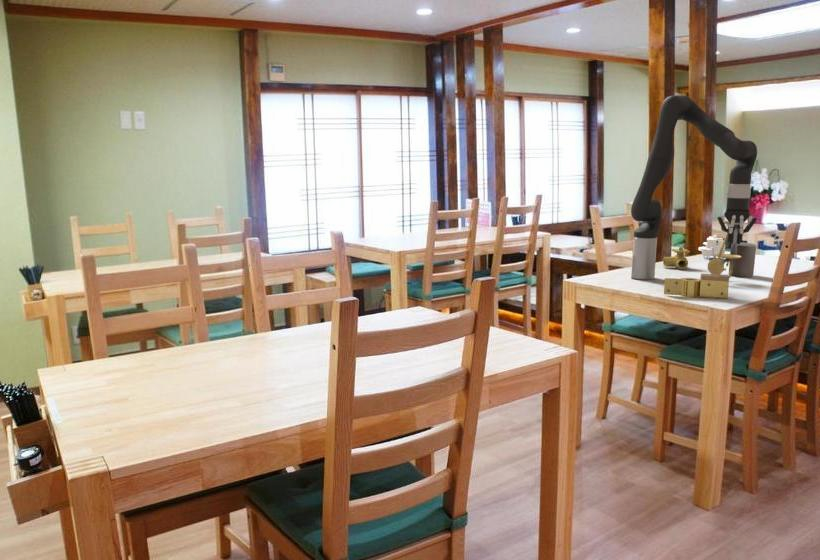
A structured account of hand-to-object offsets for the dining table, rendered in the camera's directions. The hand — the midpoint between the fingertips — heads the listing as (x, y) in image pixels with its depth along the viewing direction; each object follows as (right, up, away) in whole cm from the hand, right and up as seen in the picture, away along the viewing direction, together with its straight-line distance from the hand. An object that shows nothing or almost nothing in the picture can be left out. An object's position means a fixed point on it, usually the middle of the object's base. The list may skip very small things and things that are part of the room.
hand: (734, 243), depth 248 cm
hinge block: (-15, -19, 0) cm, 24 cm away
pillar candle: (+22, -12, +40) cm, 47 cm away
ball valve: (+2, -8, +60) cm, 60 cm away
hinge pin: (0, -4, +1) cm, 4 cm away
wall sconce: (+8, -15, +26) cm, 31 cm away
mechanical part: (+29, -3, +85) cm, 90 cm away
